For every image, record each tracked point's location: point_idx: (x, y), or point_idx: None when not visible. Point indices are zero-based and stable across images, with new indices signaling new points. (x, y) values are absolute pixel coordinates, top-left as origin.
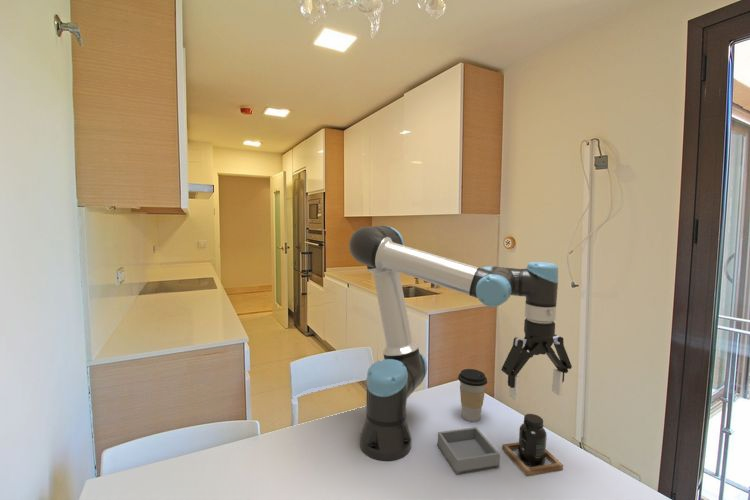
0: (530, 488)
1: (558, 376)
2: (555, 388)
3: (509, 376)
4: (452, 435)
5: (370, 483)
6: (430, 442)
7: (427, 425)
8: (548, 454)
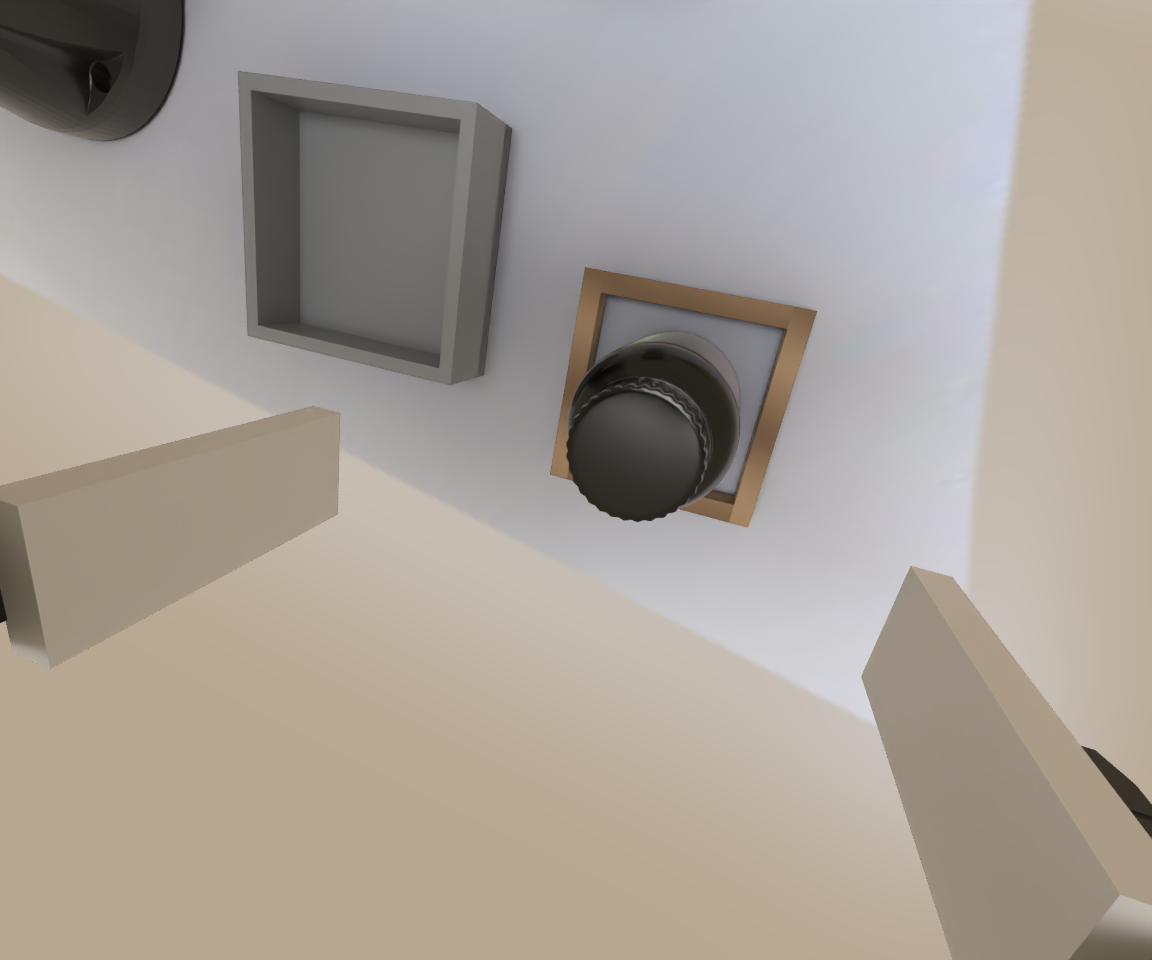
0: (521, 517)
1: (963, 901)
2: (908, 657)
3: None
4: (332, 107)
5: (20, 238)
6: (275, 59)
7: None
8: (755, 443)
